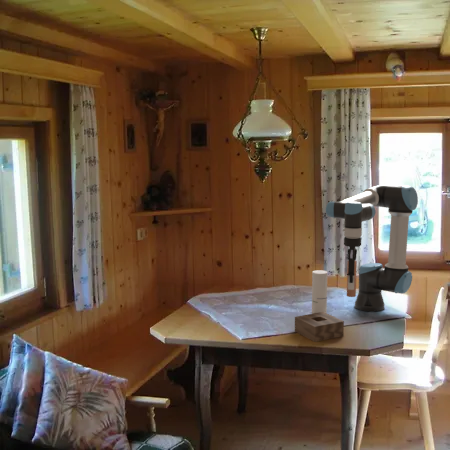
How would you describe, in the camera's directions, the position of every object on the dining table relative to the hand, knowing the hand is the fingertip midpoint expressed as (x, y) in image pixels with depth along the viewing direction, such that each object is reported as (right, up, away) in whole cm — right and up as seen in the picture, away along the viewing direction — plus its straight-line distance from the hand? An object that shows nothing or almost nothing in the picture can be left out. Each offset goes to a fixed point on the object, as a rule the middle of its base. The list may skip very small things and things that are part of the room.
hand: (351, 287), depth 285 cm
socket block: (-13, -22, +8) cm, 27 cm away
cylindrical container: (-11, -19, +25) cm, 33 cm away
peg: (0, -4, +1) cm, 4 cm away
